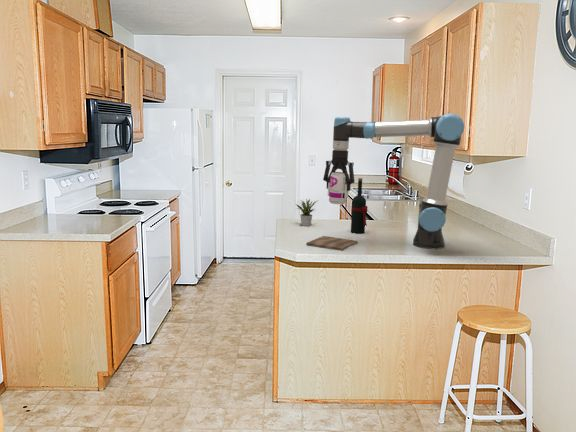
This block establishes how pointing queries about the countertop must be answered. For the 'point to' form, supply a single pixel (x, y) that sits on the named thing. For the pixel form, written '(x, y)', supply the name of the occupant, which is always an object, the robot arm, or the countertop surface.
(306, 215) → the house plant
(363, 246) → the countertop surface
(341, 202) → the supplement can
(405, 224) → the countertop surface
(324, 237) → the walnut board
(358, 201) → the wine bottle
